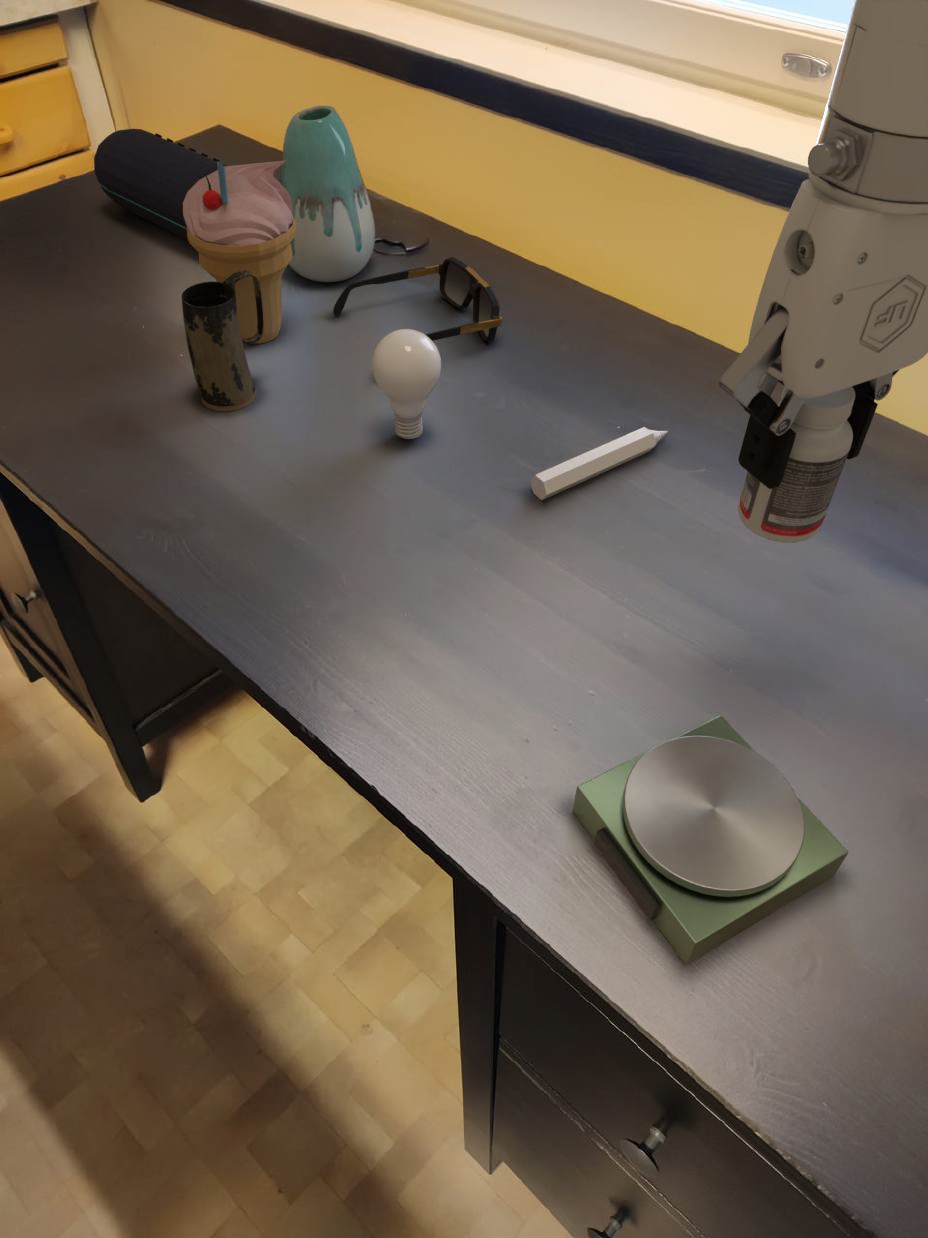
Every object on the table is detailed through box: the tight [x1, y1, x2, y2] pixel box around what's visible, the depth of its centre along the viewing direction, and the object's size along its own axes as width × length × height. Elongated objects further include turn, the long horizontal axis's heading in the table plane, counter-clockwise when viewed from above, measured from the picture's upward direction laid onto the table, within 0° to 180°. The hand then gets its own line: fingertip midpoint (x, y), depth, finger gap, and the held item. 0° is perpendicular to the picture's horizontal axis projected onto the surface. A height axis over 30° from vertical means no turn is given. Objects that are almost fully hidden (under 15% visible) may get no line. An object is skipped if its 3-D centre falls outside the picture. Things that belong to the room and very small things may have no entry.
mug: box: [181, 270, 264, 412], centre depth 91 cm, size 8×6×12 cm
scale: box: [572, 714, 849, 966], centre depth 59 cm, size 12×12×3 cm
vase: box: [279, 105, 376, 283], centre depth 107 cm, size 12×12×18 cm
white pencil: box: [529, 426, 669, 501], centre depth 87 cm, size 3×2×16 cm
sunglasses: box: [332, 256, 504, 342], centre depth 102 cm, size 14×15×5 cm
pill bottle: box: [737, 385, 855, 544], centre depth 57 cm, size 5×5×10 cm
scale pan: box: [623, 736, 805, 897], centre depth 58 cm, size 11×11×1 cm
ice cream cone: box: [183, 160, 296, 345], centre depth 96 cm, size 11×11×20 cm
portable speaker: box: [93, 128, 228, 241], centre depth 117 cm, size 25×10×10 cm, turn 49°
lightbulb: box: [371, 328, 442, 440], centre depth 86 cm, size 6×6×11 cm
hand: (798, 458), depth 57 cm, fingers closed on pill bottle, 5 cm apart
